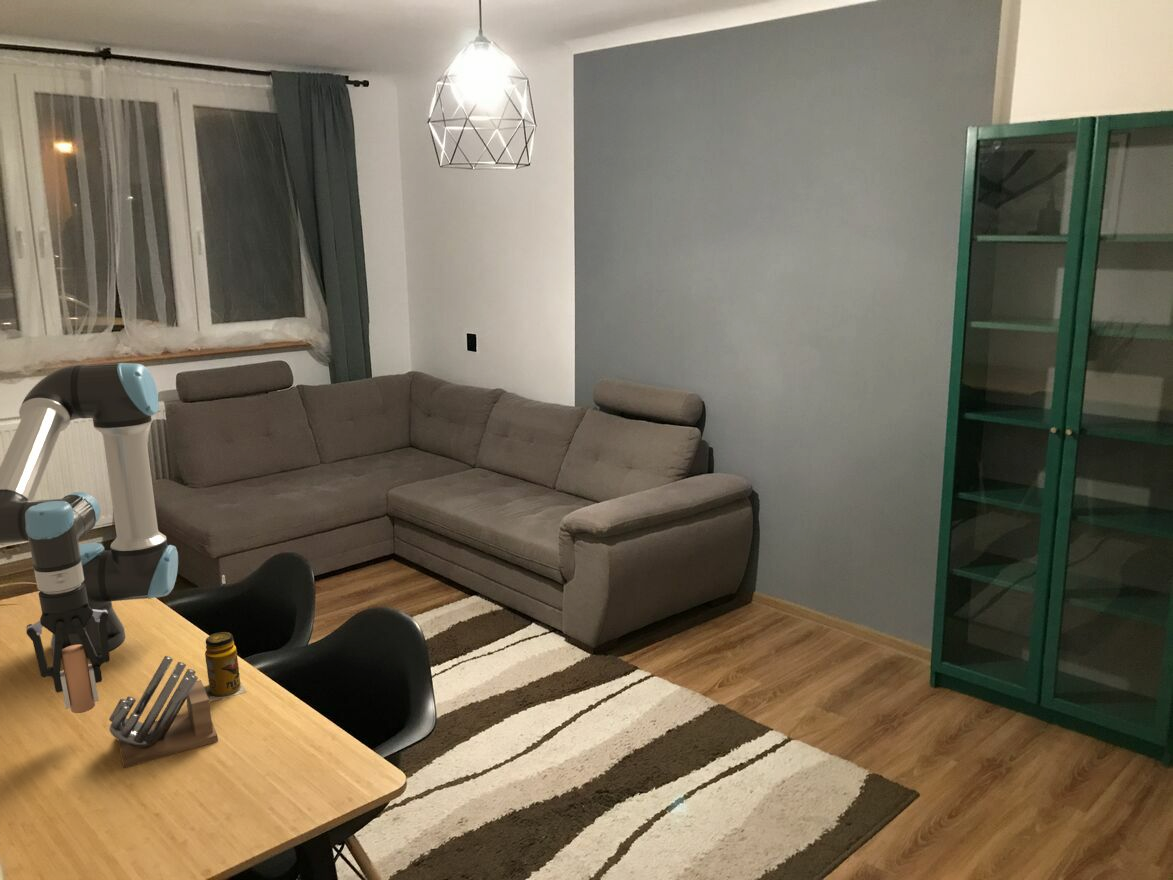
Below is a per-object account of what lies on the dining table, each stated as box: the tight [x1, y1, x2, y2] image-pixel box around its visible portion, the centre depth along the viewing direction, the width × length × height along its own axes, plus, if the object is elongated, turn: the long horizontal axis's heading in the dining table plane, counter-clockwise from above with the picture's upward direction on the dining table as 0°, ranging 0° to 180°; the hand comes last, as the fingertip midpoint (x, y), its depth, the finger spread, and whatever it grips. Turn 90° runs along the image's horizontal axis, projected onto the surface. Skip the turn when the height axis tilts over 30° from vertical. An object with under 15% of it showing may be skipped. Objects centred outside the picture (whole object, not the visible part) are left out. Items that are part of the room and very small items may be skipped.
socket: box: [108, 655, 199, 749], centre depth 173 cm, size 10×16×15 cm, turn 121°
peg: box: [61, 645, 96, 714], centre depth 174 cm, size 4×4×12 cm
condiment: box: [203, 631, 247, 703], centre depth 191 cm, size 7×8×12 cm
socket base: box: [117, 679, 219, 769], centre depth 174 cm, size 12×16×8 cm
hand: (82, 701), depth 175 cm, fingers closed on peg, 4 cm apart
